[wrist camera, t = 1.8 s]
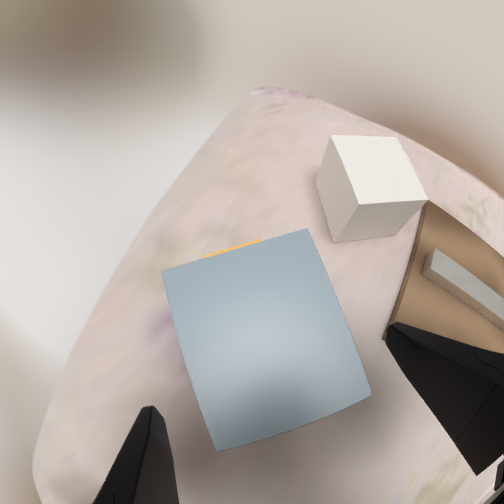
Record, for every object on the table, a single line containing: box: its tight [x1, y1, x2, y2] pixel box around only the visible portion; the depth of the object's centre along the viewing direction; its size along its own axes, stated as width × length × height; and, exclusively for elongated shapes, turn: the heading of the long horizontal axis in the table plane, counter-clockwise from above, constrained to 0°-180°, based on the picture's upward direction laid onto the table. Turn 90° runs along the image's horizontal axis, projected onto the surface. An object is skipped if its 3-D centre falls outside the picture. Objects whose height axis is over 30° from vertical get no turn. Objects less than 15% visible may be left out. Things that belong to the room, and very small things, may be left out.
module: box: [161, 228, 372, 452], centre depth 14 cm, size 7×6×10 cm
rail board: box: [382, 200, 504, 353], centre depth 18 cm, size 14×24×2 cm, turn 60°
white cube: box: [315, 136, 428, 244], centre depth 20 cm, size 6×6×6 cm
